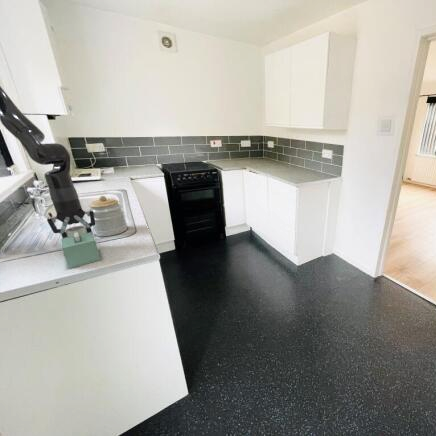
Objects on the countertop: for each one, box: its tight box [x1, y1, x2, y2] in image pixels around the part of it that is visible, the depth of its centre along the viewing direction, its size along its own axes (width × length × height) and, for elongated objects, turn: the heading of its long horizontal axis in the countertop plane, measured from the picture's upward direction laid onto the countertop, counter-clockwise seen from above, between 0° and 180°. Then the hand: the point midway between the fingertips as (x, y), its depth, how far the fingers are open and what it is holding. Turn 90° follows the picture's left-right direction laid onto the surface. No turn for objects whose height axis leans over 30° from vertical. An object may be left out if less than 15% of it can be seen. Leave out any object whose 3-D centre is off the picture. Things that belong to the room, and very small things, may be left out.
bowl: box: [65, 225, 88, 237], centre depth 98 cm, size 6×6×5 cm
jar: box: [87, 195, 128, 237], centre depth 114 cm, size 13×13×18 cm
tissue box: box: [61, 231, 102, 269], centre depth 91 cm, size 9×11×10 cm
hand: (78, 238), depth 98 cm, fingers closed on bowl, 6 cm apart
